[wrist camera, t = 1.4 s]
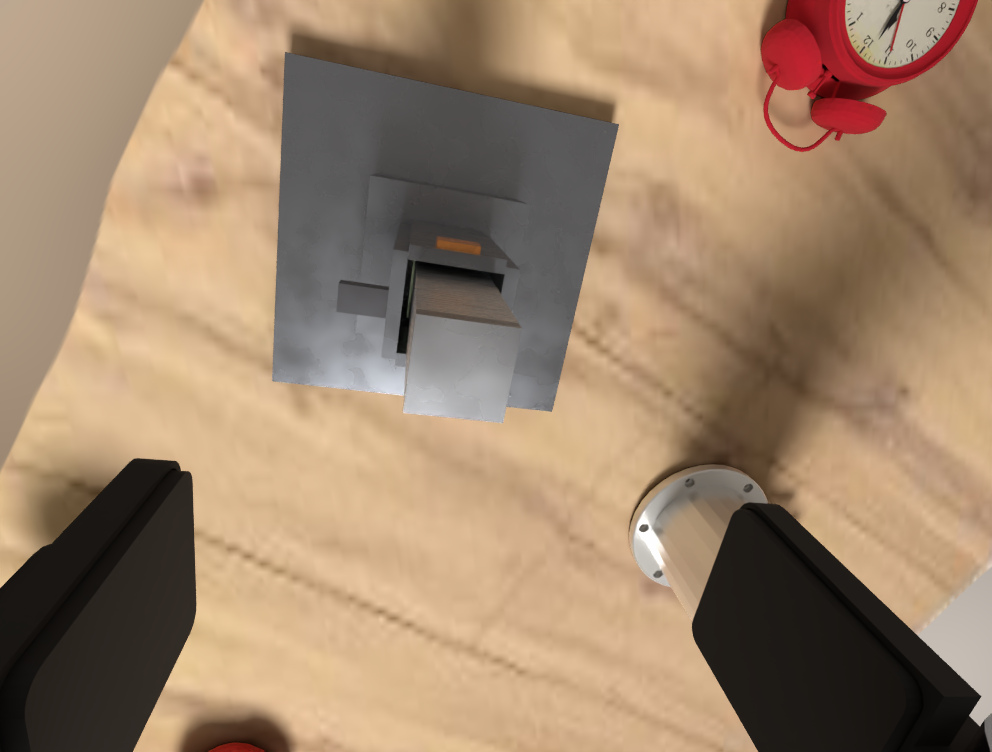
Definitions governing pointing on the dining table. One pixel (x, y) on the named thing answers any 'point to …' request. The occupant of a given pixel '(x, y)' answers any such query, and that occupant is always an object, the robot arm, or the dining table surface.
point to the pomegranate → (236, 748)
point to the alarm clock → (857, 54)
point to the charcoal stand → (425, 220)
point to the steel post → (458, 344)
